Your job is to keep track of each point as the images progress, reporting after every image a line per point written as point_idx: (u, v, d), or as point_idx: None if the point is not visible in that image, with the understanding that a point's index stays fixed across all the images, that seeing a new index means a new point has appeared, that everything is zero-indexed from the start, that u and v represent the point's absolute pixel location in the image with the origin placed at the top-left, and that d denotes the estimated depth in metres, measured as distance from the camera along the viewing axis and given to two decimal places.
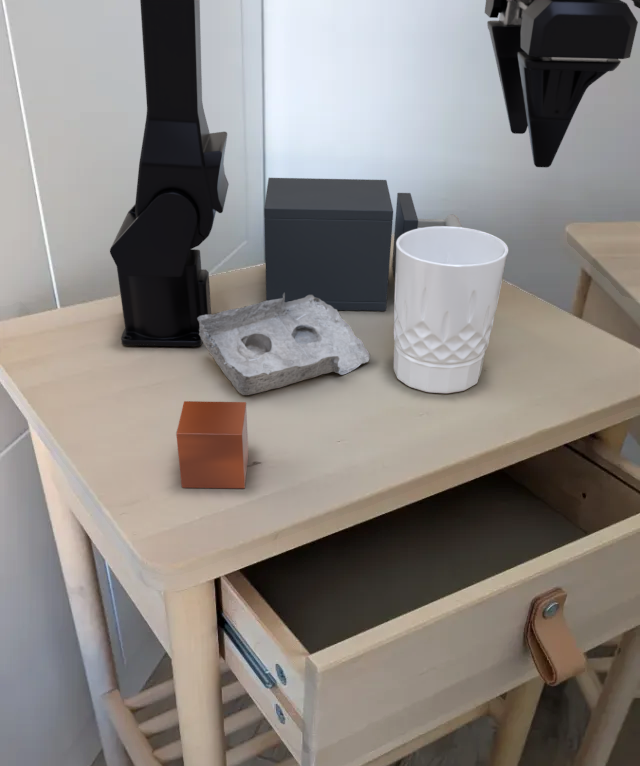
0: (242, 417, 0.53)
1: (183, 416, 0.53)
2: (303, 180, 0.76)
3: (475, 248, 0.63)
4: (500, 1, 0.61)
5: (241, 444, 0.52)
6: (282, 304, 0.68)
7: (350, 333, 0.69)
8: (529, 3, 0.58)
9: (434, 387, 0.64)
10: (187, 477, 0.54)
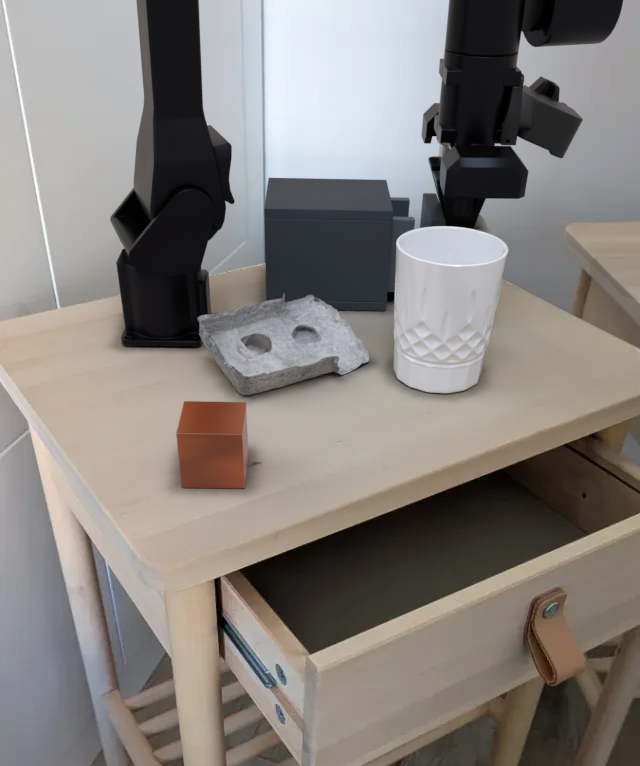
0: (242, 417, 0.53)
1: (183, 416, 0.53)
2: (303, 180, 0.76)
3: (475, 248, 0.63)
4: (431, 132, 0.75)
5: (241, 444, 0.52)
6: (282, 304, 0.68)
7: (350, 333, 0.69)
8: None
9: (434, 387, 0.64)
10: (187, 477, 0.54)
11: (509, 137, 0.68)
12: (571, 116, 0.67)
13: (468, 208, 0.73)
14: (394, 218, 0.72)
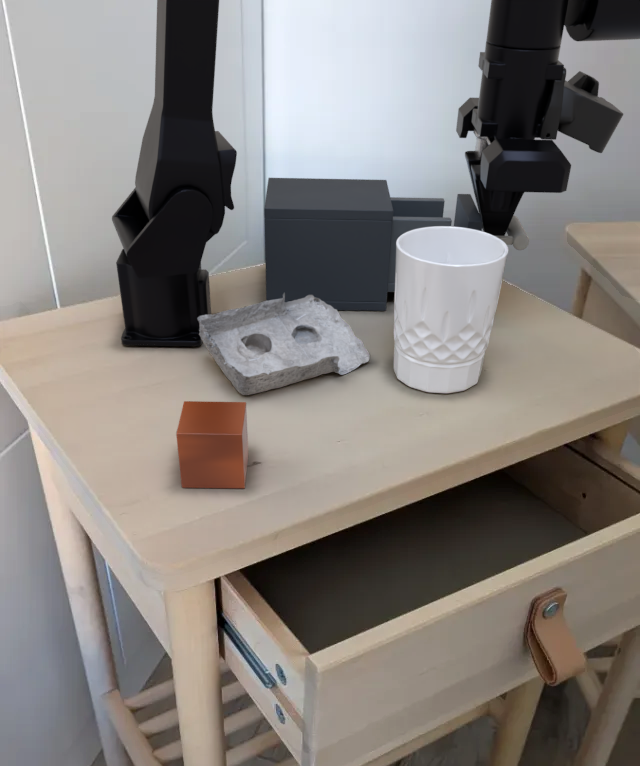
0: (242, 417, 0.53)
1: (183, 416, 0.53)
2: (303, 180, 0.76)
3: (475, 248, 0.63)
4: (468, 126, 0.75)
5: (241, 444, 0.52)
6: (282, 304, 0.68)
7: (350, 333, 0.69)
8: None
9: (434, 387, 0.64)
10: (187, 477, 0.54)
11: (549, 131, 0.67)
12: (612, 110, 0.67)
13: (505, 203, 0.72)
14: (431, 218, 0.72)
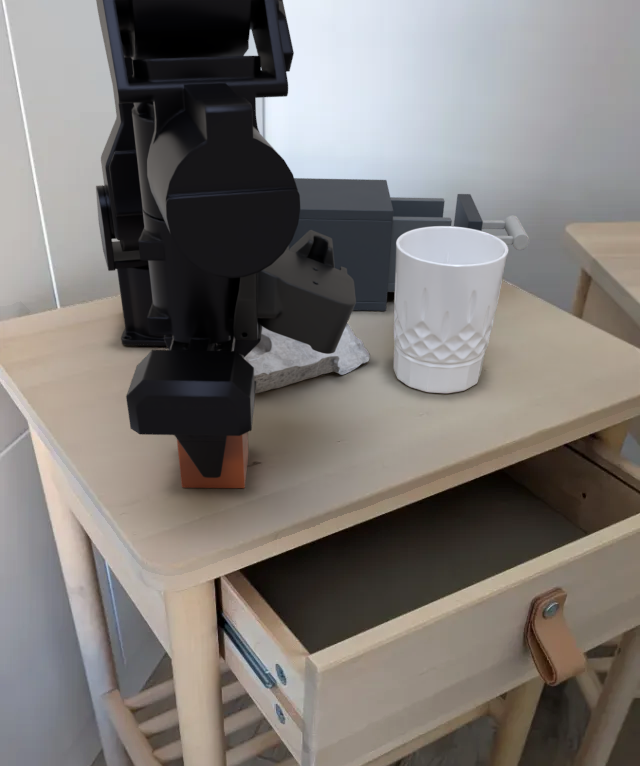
0: None
1: None
2: (303, 180, 0.76)
3: (475, 248, 0.63)
4: None
5: (241, 444, 0.52)
6: None
7: (350, 333, 0.69)
8: None
9: (434, 387, 0.64)
10: (187, 477, 0.54)
11: (246, 330, 0.46)
12: (334, 302, 0.46)
13: None
14: (431, 218, 0.72)
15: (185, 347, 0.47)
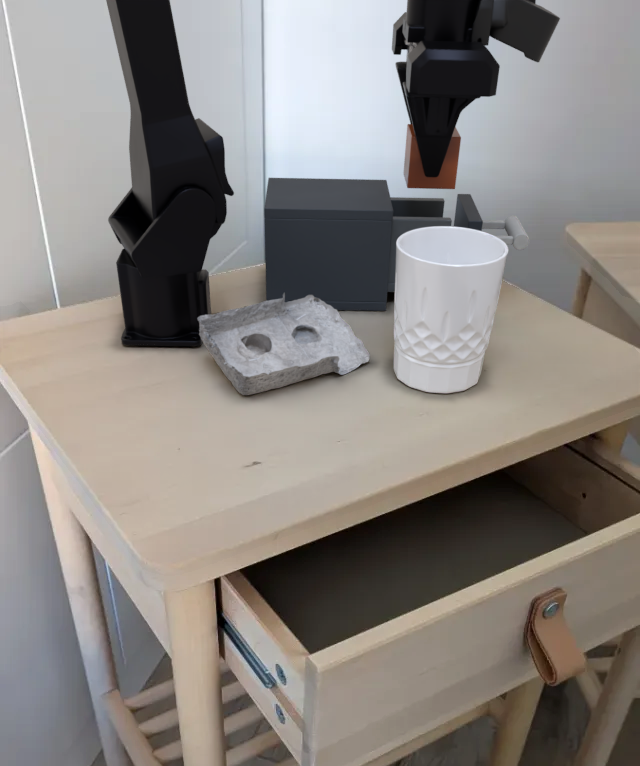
0: (456, 130, 0.70)
1: (411, 129, 0.70)
2: (303, 180, 0.76)
3: (475, 248, 0.63)
4: (401, 41, 0.70)
5: (459, 146, 0.69)
6: (282, 304, 0.68)
7: (350, 333, 0.69)
8: None
9: (434, 387, 0.64)
10: (413, 178, 0.70)
11: (481, 36, 0.63)
12: (547, 13, 0.63)
13: (441, 125, 0.67)
14: (431, 218, 0.72)
15: None
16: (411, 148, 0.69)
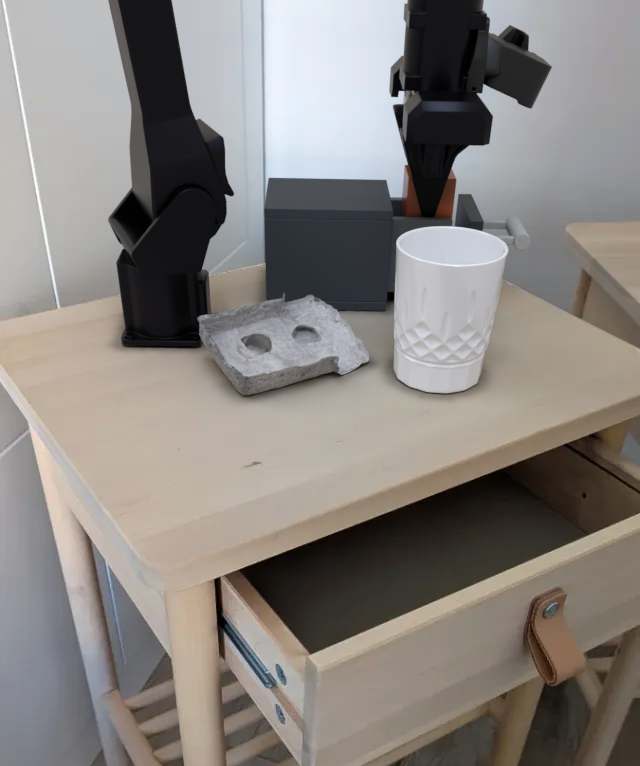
0: (452, 172, 0.72)
1: (408, 171, 0.72)
2: (303, 180, 0.76)
3: (475, 248, 0.63)
4: (398, 84, 0.73)
5: (454, 188, 0.71)
6: (282, 304, 0.68)
7: (350, 333, 0.69)
8: None
9: (434, 387, 0.64)
10: None
11: (475, 84, 0.65)
12: (539, 63, 0.65)
13: (437, 168, 0.69)
14: (432, 218, 0.72)
15: None
16: (408, 190, 0.71)
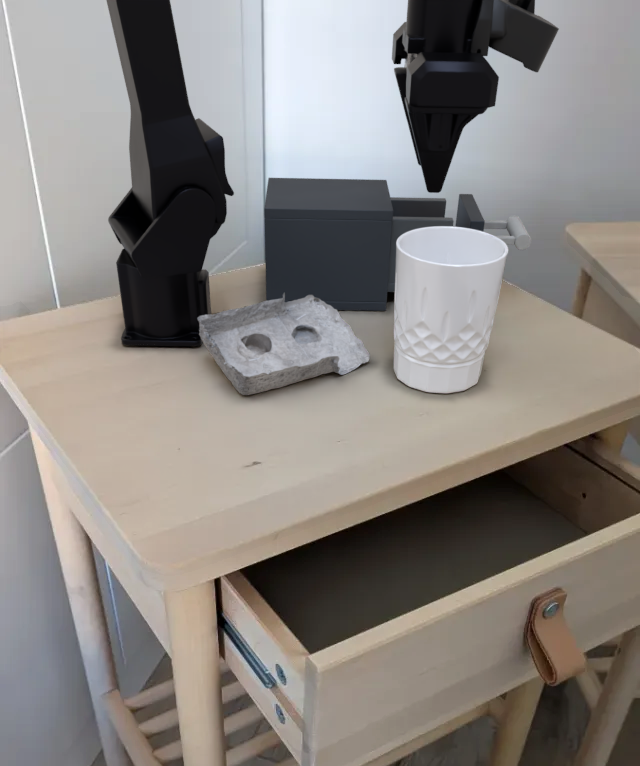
0: None
1: None
2: (303, 180, 0.76)
3: (475, 248, 0.63)
4: (401, 50, 0.71)
5: None
6: (282, 304, 0.68)
7: (350, 333, 0.69)
8: None
9: (434, 387, 0.64)
10: None
11: (480, 47, 0.64)
12: (546, 24, 0.63)
13: (444, 140, 0.66)
14: (433, 218, 0.72)
15: None
16: None
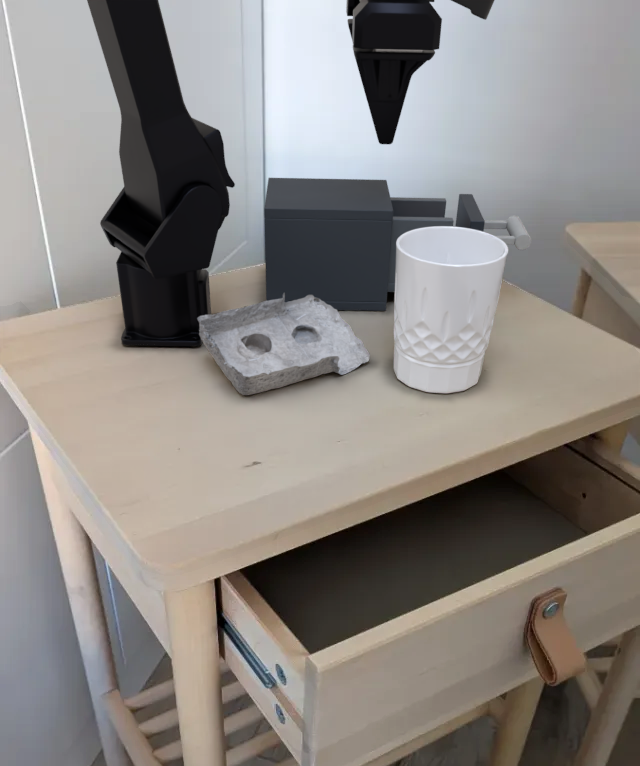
0: None
1: None
2: (303, 180, 0.76)
3: (475, 248, 0.63)
4: (353, 2, 0.71)
5: None
6: (282, 304, 0.68)
7: (350, 333, 0.69)
8: None
9: (434, 387, 0.64)
10: None
11: None
12: None
13: (393, 89, 0.66)
14: (433, 218, 0.72)
15: None
16: None
